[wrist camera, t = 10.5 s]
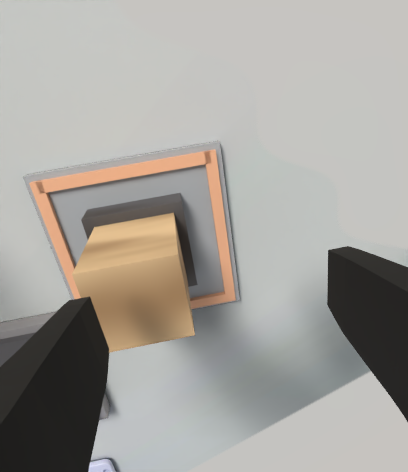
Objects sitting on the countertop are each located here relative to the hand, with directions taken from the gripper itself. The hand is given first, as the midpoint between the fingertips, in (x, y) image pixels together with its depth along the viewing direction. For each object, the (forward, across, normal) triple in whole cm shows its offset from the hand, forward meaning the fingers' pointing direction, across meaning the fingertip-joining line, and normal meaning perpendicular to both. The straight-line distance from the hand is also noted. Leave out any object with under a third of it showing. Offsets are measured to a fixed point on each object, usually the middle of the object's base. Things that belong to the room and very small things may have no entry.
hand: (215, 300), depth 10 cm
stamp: (+9, +3, +2) cm, 10 cm away
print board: (+9, +3, +2) cm, 10 cm away
